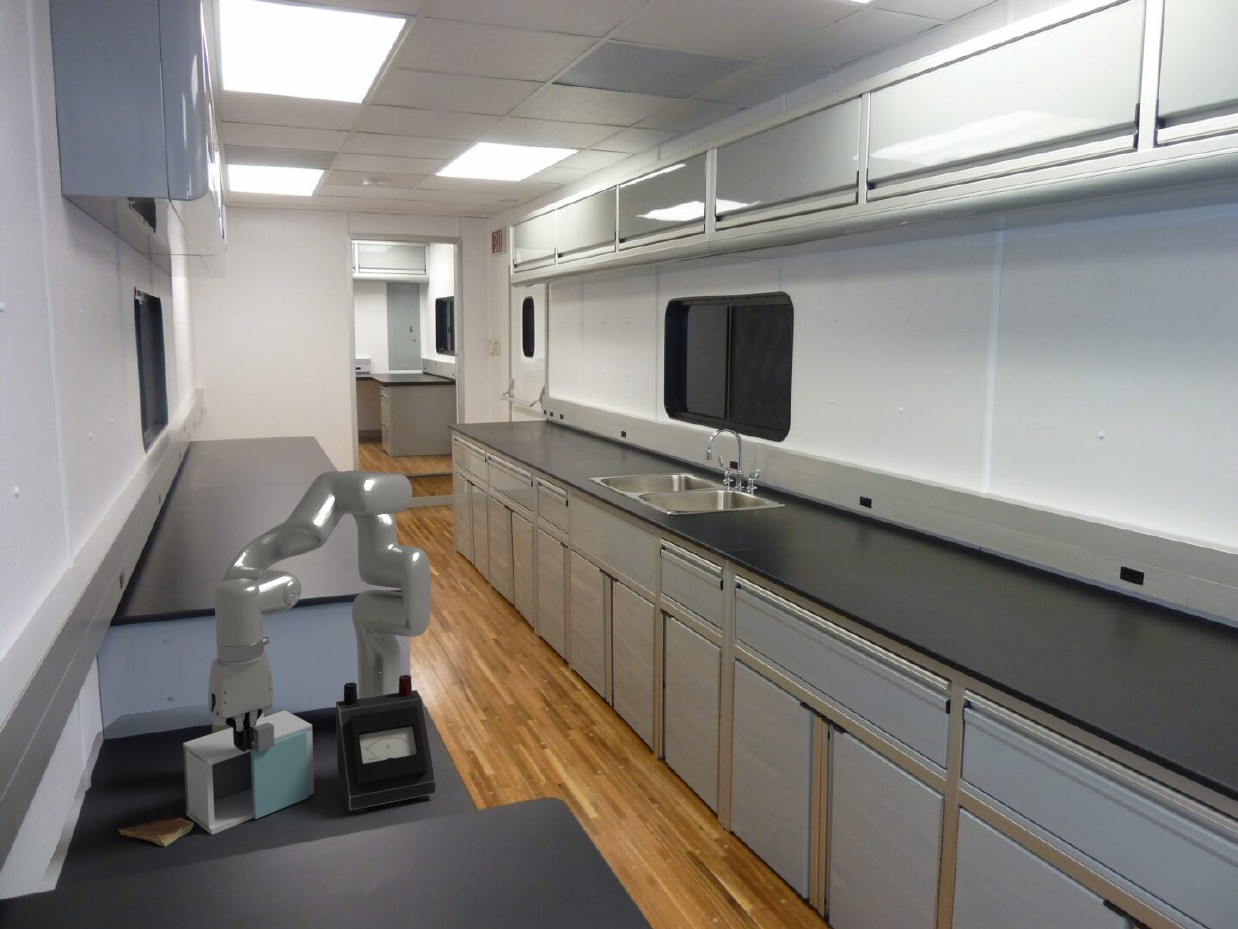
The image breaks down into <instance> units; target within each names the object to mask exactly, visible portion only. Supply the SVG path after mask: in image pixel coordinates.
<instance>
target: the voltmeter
mask: <svg viewBox="0 0 1238 929" xmlns="http://www.w3.org/2000/svg"><path fill="white" fill-rule="evenodd" d="M423 703H424V702H423V698H422V696H421V694H420V693H419V692H418V690H417V689H413V684H412V676H411V675H409V674H403V675H402V674H401V676H400V677H399V693H392V694H385V695H378V696H372V697H365V698H358V683H357V682H346V683H345V684H344V685H343V700H340V701H339V700H337V701H335V720H336V724H335V725H336V728H335V729H336V760H337V761H336V765H337V770H336V773H337V775H338V779H339V781H340V785H341V788H342V790H343V794H344V797H345V800H346V803H347V807H348V810H349V811H353V810H354V812H355V813H364V811H366V809H367V808H369V807H373V806H379V805H383V804H388V803H394V802H399V801H406V800H408V799H409V800H410V799H415V798H416V799H417V798H418V799H417V800H419V799H420V800H419V801H424V800H426V799H428V798H429V795H435V794H437V789H436V788H437V781H436V775H435V768H434V762H433V757H432V750H431V744H430V739H429V732H428V726H427V721H426V714H425V709H424V708H425V707H424V704H423ZM427 797H428V798H427ZM423 799H424V800H423Z"/></svg>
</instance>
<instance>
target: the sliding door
mask: <svg viewBox="0 0 1238 929" xmlns="http://www.w3.org/2000/svg"><path fill="white" fill-rule="evenodd" d="M253 728H254V741H253V749H251V772H252V800H253V817H254V818H253V819H255V820H257V819H260V818H262V817H264V816H267V815H270V814H272V813H274V812H276V811H280V810H282V809H284V808H286V807H289V806H291V805H294V804H296V803H299V802H302V801H304V800H306V799H308V798H309V795H308V773H307V737H306V732H305V731H302V732H299V733H296V734H293V735H290V736H287V737H284V738H281V739H279V740H276V741H274V725H272V724H270V723H269V722H267V723H264V724H261V725H258V726H255V727H253Z"/></svg>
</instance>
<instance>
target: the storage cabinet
mask: <svg viewBox="0 0 1238 929" xmlns="http://www.w3.org/2000/svg"><path fill="white" fill-rule="evenodd" d="M267 722H269V723H270V724H272V725H274V741H276V740H279V739H281V738H284V737H287V736H290V735H293V734H296V733H299V732H302V731H305V732H306V737H307V773H308V796H311V795H313V794H315V787H314V786H315V782H314V780H315V779H314V778H315V777H314V749H313V748H314V747H313V746H314V744H313V743H314V741H313V739H314V738H313V724H312V723H309V722H307V721H306V720H304V719H302V718H300V717H299V716H296V715H295V714H293V713H291V712H289V711H287V710H282V711H279V712H275V713H272V714H270V715H267V716H264V717H263V718H260V719H258V720H257V723H256V726H258V725H261V724H264V723H267ZM182 744H183V765H184V767H183V768H184V769H183V771H184V784H185V785H184V787H185V788H184V789H185V808H186V810H185V811H186V812H185V813H186V816H188V817H189V818H190V819H191V820H192V821H194V822H195V823H196V824H197V825H199V826H200V827H201V828H203V829H204V830H206V831H207V832H208V833H209V834H211V835H215V834H218V833H220V832H222V831H224V830H227V829H229V828H232V827H235V826H237V825H240V824H242V823H244V822H247V821H249V820H252V819H255V818H254V817H253V800H252V772H251V749H250V750H248V749H247V751H245V752H243V751H241V750H240V749H238V748H236V747H235V745H234V741H233V728H229V729H225V730H222V731H219V732H216V733H213V732H212V733H210V734H207V735H204V736H200V737H197V738H195V739H191V740H189V741H186V742H183V743H182ZM252 745H253V742H252ZM252 749H253V748H252Z"/></svg>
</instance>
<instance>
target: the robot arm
mask: <svg viewBox="0 0 1238 929" xmlns="http://www.w3.org/2000/svg"><path fill="white" fill-rule="evenodd" d="M412 498H413V486H412V484H411V481H410V479H408V478H407V476H405V475H404V474H401V473H395V472H383V471H373V470H372V471H371V470H355V469H353V470H345V471H341V470H340V471H339V470H338V471H337V470H330V471H325V472H322V473H321V474H319V475H318V476H317V477H316V478H315V479H314V480H313V482H312V483H311V485H310V486H309V488H308V489H307V490H306V492H305V493H304V495H303V496H302V498H301V499H300V501H298V504H297V505H296V507H295V508H293V510H292V512H291V513H290V515H289V516H288V517H287V519H286V520H285V521H284V522H282V523H279V524H278V525H276V526H274V527H272V528H271V529H269V530H267V531H266V532H264V533H262V534H261V535H259V536H257V537H256V538H254V539H252V540H251V541H250V542H249V543H247V544H246V545H245V546H244V547H243V548H241V550H240V551H239V552H238V554H237V555H236V556H235V558H234V559H233V561H232V562H231V563H230V564H229V566H228V568H227V569H226V571H225V572H224V575H223V577H222V580H221V583H219V584H217V585H216V587H215V589H214V613H215V614H214V616H215V638H216V658H215V659H212V662H211V666H210V672H209V677H208V689H207V690H208V692H207V693H208V694H207V696H208V698H207V704H208V706H207V707H208V712H210V713H211V714H212V713H213V716H212V715H211V722H210V723H211V725H212V724H214V725H215V726H221V725H229V726H230V727H232V728H233V741H234V745H235V747H236V748H238V749H240V750H241V751H243V752H245V751H247V749H248V750H250V749H252V748H253V745H252V742H253V741H254V728H253V727H255V726H256V723H257V720H258V719H259V717H260V716H261V714H262V713H264V714H265V713H266V712H268V711H269V710H271V709H272V708H273V705H274V704H273V699H274V688H273V677H272V671H271V666H270V662H269V658H268V655H267V652H266V651H265V646H266V645H268V644H270V642H271V641H270V640H271V639H270V637H269V636H263V633H264V632H263V617H265V616H270V615H275V614H279V613H284V612H287V611H288V610H290V609H291V608H293V607H294V606H295V605H296V604H297V603H298V601H299V600H300V598H301V595H302V584H301V581H300V579H299V578H298V577H297V576H296V575H294V574H293V573H290V572H288V571H285V570H284V571H282V570H274V569H270V567H272V566H273V565H274V564H276V563H279V562H281V561H283V560H286V559H289V558H292V557H296V556H301V555H304V554H307V553H311V552H313V551H315V550H316V551H317V550H318V549H321V548H322V547H323V546H324V545H325V544H326V543H327V542H328V539H329V538H330V536H331V535H332V533H333V531H334V530H335V528H337V525H338V524H339V522H340V520H341V519H342V518H343V516H344V515H347V514H348V515H352V517H353V518H354V522H355V525H356V527H357V528H356V529H357V562H358V563H357V565H358V574H359V578H360V579H361V581H362V582H364V583H365V584H367V585H371V586H378V587H384V588H385V587H386V588H394V589H400V590H401V592H399V591H393V590H384V589H383V590H382V589H369V590H365V591H363V592H361V593H359V594H358V595H357V596H355V598H354V601H353V603H352V606H351V618H352V623H353V628H354V632H355V637H356V650H357V652H356V653H357V654H356V656H357V699H358V698H365V697H372V696H378V695H385V694H392V693H399V677H400V676H402V659H401V658H402V657H401V656H402V654H401V653H402V652H401V646H400V643H399V640H398V638H397V637H396V636H398V637H399V636H400V637H406V638H407V637H409V638H417V637H419V636H421V635H423V634H424V633H425V632H426V631H427V629H428V627H429V623H430V618H431V565H430V560H429V557H428V555H427V553H426V552H425V551H424V550H423V549H422V548H421V547H417V546H412V545H405V544H404V545H403V544H402V545H401V544H399V542H398V531H397V530H398V529H397V526H398V524H397V520H396V516H395V515H394V514H399V513H401V512H403V511H405V510H406V509H407V508H408V507H409V505H410V503H411V502H412ZM241 714H243V721H242V716H241Z"/></svg>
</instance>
